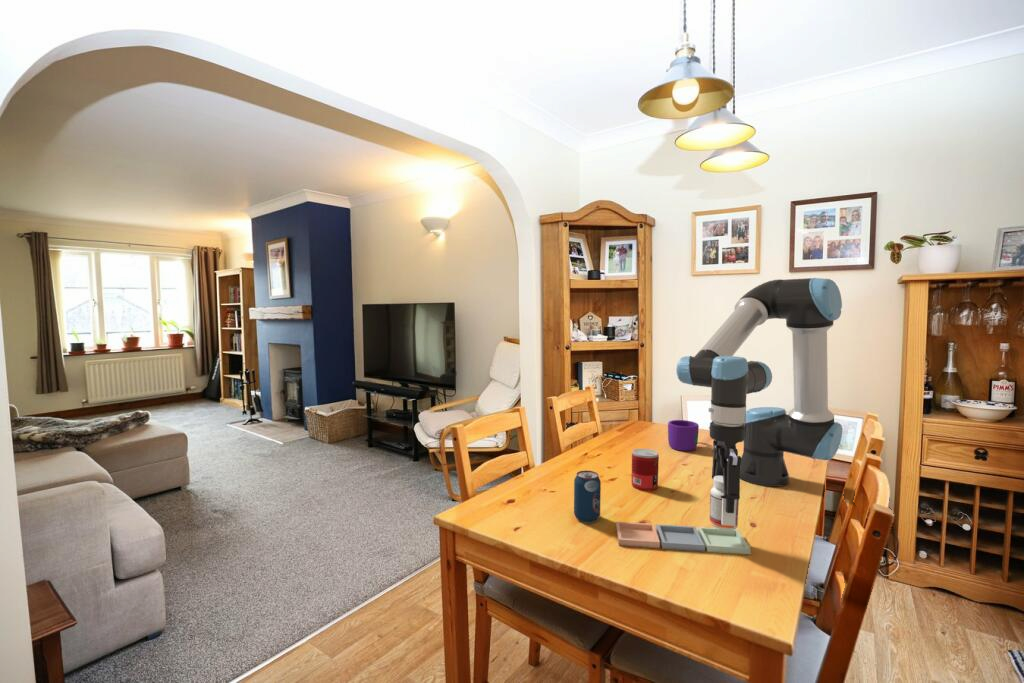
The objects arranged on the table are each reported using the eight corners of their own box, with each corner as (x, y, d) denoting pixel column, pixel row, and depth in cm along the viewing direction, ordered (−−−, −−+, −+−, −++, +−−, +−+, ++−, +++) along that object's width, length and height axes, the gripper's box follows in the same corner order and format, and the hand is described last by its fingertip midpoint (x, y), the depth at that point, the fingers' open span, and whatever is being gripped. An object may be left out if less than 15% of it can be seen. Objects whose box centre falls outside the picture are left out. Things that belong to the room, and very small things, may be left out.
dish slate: (695, 532, 121) (695, 526, 121) (704, 551, 111) (704, 545, 111) (656, 529, 122) (656, 524, 122) (662, 548, 113) (662, 542, 113)
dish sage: (737, 535, 119) (737, 529, 119) (750, 554, 110) (750, 548, 110) (697, 532, 121) (697, 526, 120) (707, 551, 111) (707, 545, 111)
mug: (695, 454, 183) (696, 428, 182) (664, 449, 188) (665, 424, 188) (702, 442, 198) (703, 418, 197) (673, 438, 203) (674, 415, 203)
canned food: (659, 492, 146) (659, 456, 145) (631, 490, 148) (632, 455, 147) (656, 482, 154) (657, 449, 153) (630, 481, 155) (631, 447, 154)
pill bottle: (721, 517, 119) (723, 472, 118) (743, 528, 113) (745, 481, 113) (703, 522, 116) (705, 476, 115) (724, 533, 111) (726, 485, 110)
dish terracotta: (653, 529, 122) (654, 524, 122) (659, 548, 113) (659, 542, 113) (616, 527, 123) (616, 521, 123) (618, 545, 114) (618, 539, 114)
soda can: (600, 525, 125) (600, 479, 124) (573, 522, 126) (573, 478, 125) (600, 513, 132) (600, 470, 131) (574, 511, 133) (574, 468, 132)
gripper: (700, 412, 123) (697, 501, 125) (722, 432, 104) (718, 536, 106) (731, 413, 122) (728, 502, 124) (759, 434, 103) (754, 538, 105)
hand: (723, 518), depth 115 cm, fingers closed on pill bottle, 6 cm apart
